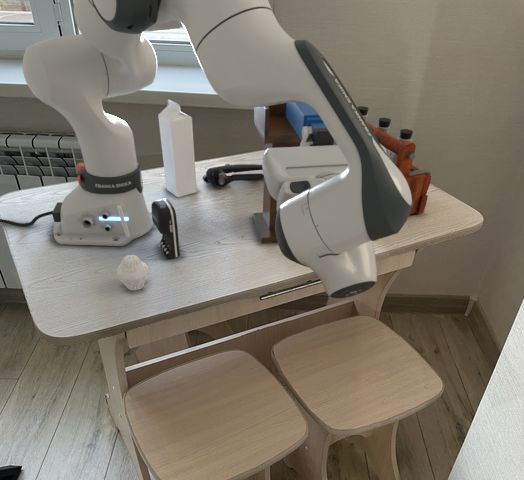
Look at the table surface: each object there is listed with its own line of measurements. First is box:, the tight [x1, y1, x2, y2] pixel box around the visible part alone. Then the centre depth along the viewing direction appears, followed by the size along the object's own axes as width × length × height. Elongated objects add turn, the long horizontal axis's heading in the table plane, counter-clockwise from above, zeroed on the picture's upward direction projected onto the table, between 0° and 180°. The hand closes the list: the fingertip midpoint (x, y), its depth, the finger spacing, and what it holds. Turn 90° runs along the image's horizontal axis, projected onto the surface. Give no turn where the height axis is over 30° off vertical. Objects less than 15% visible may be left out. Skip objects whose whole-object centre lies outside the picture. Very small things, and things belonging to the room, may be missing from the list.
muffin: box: [116, 254, 150, 291], centre depth 97 cm, size 6×6×7 cm
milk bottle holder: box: [309, 105, 432, 215], centre depth 126 cm, size 21×35×19 cm, turn 26°
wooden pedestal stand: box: [252, 103, 312, 245], centre depth 108 cm, size 12×12×29 cm
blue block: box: [286, 102, 334, 146], centre depth 85 cm, size 4×18×4 cm, turn 11°
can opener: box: [202, 163, 264, 189], centre depth 134 cm, size 18×7×6 cm, turn 114°
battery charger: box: [150, 198, 181, 259], centre depth 106 cm, size 7×4×11 cm, turn 25°
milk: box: [157, 98, 198, 198], centre depth 124 cm, size 6×6×22 cm
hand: (317, 128), depth 82 cm, fingers closed on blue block, 2 cm apart
